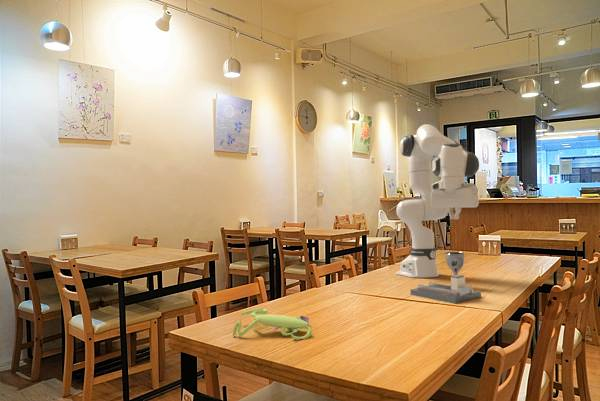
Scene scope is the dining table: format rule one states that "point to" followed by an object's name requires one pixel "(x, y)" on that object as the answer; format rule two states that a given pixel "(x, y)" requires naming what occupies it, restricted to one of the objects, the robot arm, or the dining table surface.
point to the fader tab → (457, 282)
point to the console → (446, 292)
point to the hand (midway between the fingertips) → (454, 219)
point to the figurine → (275, 323)
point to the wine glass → (455, 261)
